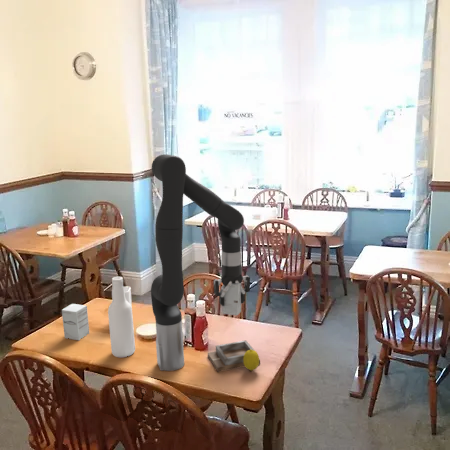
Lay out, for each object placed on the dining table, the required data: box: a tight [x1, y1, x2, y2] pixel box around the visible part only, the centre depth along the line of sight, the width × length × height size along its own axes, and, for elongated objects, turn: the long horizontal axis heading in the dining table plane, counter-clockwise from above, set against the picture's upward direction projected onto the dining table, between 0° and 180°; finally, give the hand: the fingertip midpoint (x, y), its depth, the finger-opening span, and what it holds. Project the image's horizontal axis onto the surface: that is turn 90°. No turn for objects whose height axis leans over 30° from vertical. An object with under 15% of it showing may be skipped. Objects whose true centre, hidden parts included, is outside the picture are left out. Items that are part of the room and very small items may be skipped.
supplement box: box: [61, 303, 90, 341], centre depth 211 cm, size 7×7×13 cm
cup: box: [111, 285, 133, 309], centre depth 223 cm, size 7×7×15 cm
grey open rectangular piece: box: [207, 340, 261, 373], centre depth 188 cm, size 16×12×4 cm
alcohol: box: [107, 276, 136, 358], centre depth 194 cm, size 9×9×30 cm
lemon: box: [243, 349, 260, 372], centre depth 180 cm, size 6×6×8 cm
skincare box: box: [222, 282, 242, 316], centre depth 195 cm, size 6×4×12 cm
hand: (232, 304), depth 196 cm, fingers closed on skincare box, 7 cm apart
